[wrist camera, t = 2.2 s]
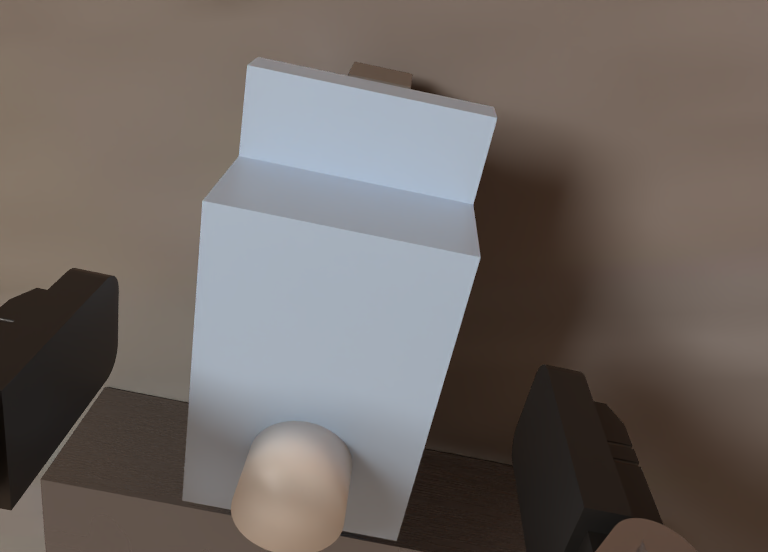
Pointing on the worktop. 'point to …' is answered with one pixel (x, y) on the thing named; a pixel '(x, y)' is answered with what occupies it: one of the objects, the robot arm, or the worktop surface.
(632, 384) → the worktop surface
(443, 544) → the block with stepped hole
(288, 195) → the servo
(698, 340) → the worktop surface
